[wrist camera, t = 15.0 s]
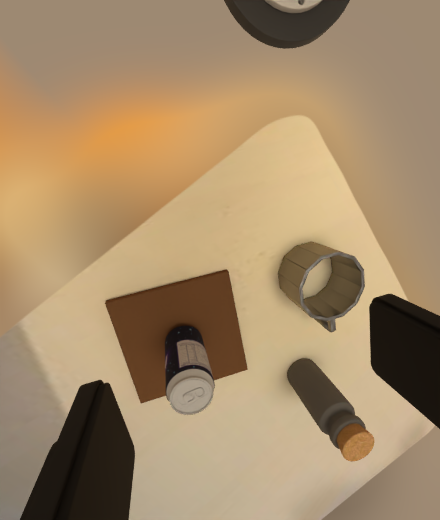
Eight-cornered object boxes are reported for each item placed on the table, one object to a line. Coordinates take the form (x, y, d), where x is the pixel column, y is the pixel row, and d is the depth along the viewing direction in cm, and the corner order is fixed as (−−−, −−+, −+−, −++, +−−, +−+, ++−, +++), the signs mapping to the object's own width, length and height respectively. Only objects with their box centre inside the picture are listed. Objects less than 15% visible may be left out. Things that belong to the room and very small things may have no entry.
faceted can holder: (274, 250, 41) (296, 262, 35) (332, 236, 43) (363, 245, 36) (284, 322, 45) (305, 345, 39) (337, 306, 47) (366, 326, 40)
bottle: (281, 381, 48) (331, 461, 34) (296, 354, 47) (354, 425, 33) (306, 388, 50) (363, 468, 36) (321, 363, 49) (386, 433, 35)
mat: (106, 300, 38) (105, 303, 37) (226, 269, 40) (228, 271, 40) (141, 398, 43) (140, 403, 42) (245, 365, 46) (247, 369, 45)
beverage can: (158, 331, 40) (157, 388, 28) (194, 317, 40) (207, 367, 29) (172, 360, 41) (176, 425, 30) (206, 346, 42) (223, 405, 31)
